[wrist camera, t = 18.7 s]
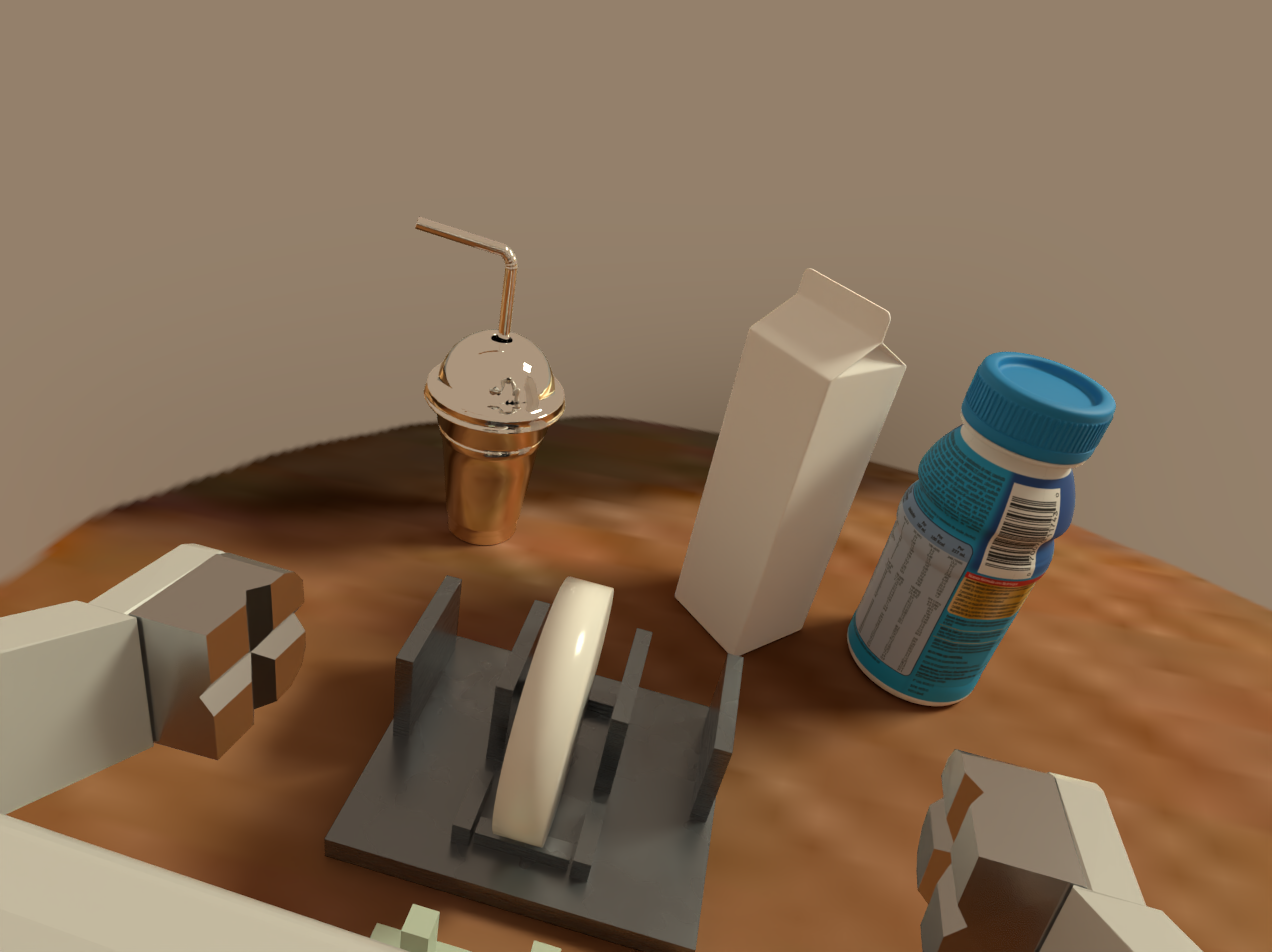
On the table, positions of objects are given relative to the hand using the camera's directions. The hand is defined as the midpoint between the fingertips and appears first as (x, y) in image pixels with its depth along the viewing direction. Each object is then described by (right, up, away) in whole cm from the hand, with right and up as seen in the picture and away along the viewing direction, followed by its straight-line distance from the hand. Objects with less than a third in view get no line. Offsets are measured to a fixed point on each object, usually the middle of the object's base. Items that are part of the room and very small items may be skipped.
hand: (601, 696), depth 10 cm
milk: (+7, -6, +44) cm, 45 cm away
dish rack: (-4, -12, +31) cm, 33 cm away
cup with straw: (-10, -1, +46) cm, 48 cm away
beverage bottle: (+17, -9, +43) cm, 47 cm away
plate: (-4, -11, +30) cm, 32 cm away
